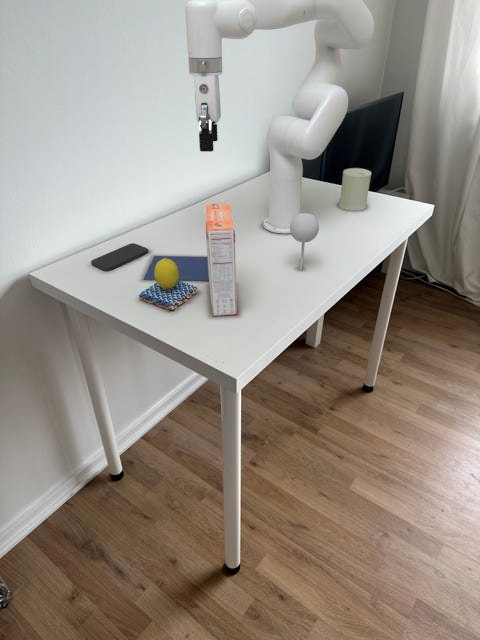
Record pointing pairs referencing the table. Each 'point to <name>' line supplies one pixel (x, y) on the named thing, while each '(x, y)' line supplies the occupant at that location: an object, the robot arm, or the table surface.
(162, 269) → the lemon
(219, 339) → the table surface
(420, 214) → the table surface
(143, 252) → the phone
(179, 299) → the woven mat
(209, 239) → the cracker box
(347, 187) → the can
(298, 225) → the lollipop
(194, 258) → the cloth
